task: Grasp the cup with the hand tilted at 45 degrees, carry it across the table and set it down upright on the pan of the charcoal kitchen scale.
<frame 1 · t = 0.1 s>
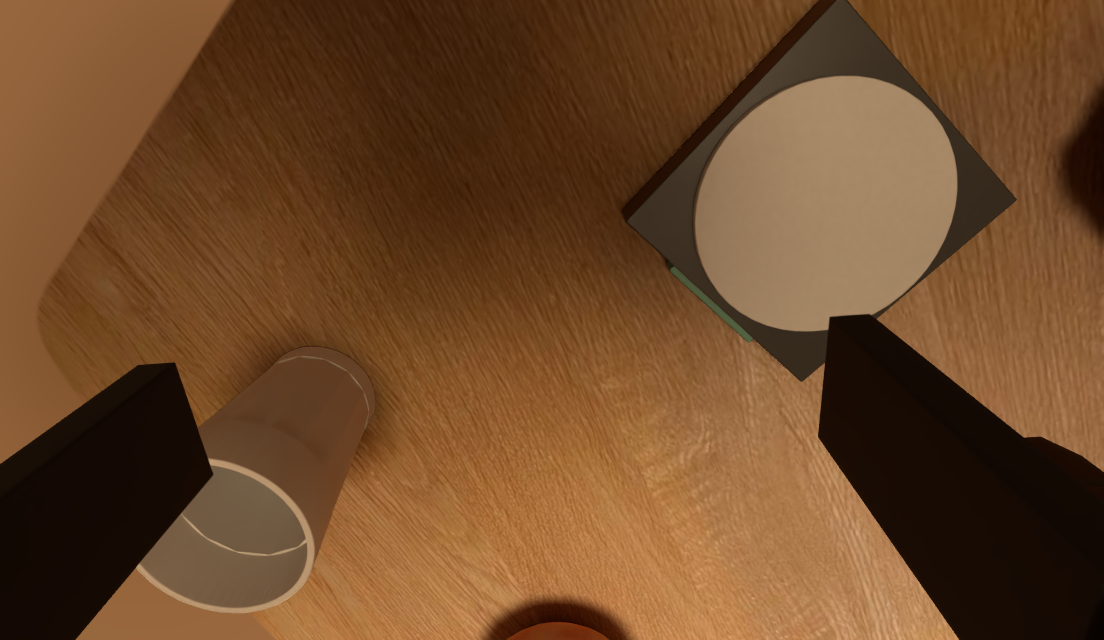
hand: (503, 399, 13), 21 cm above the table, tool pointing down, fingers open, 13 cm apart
cup: (322, 393, 37), on the table
scale: (801, 200, 32), on the table
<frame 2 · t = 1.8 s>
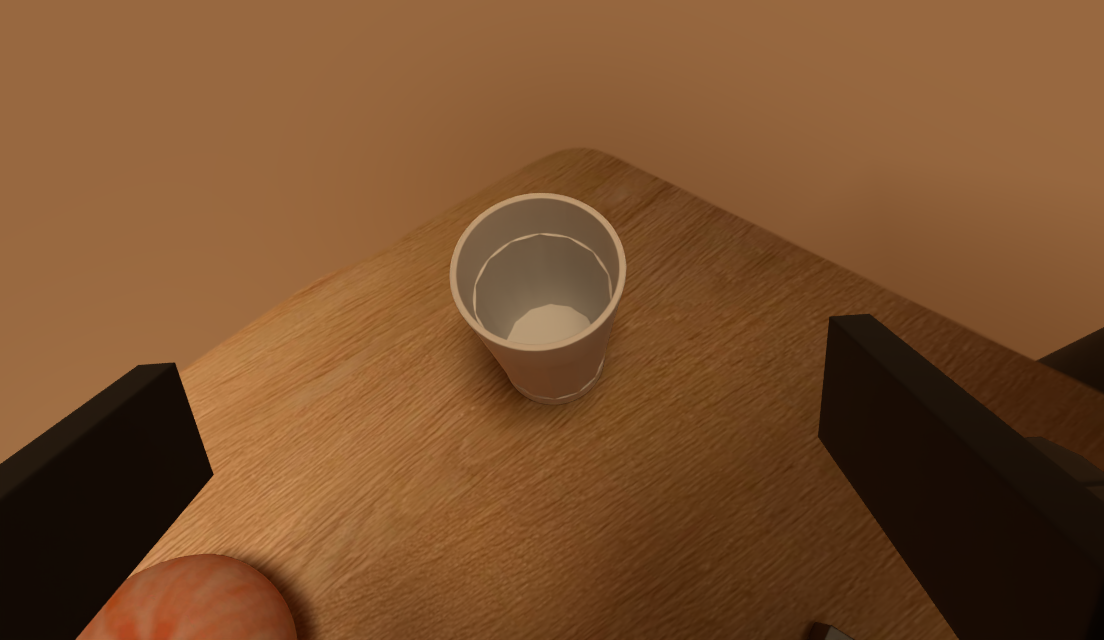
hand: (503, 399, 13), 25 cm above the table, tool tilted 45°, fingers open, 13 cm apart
cup: (554, 356, 39), on the table
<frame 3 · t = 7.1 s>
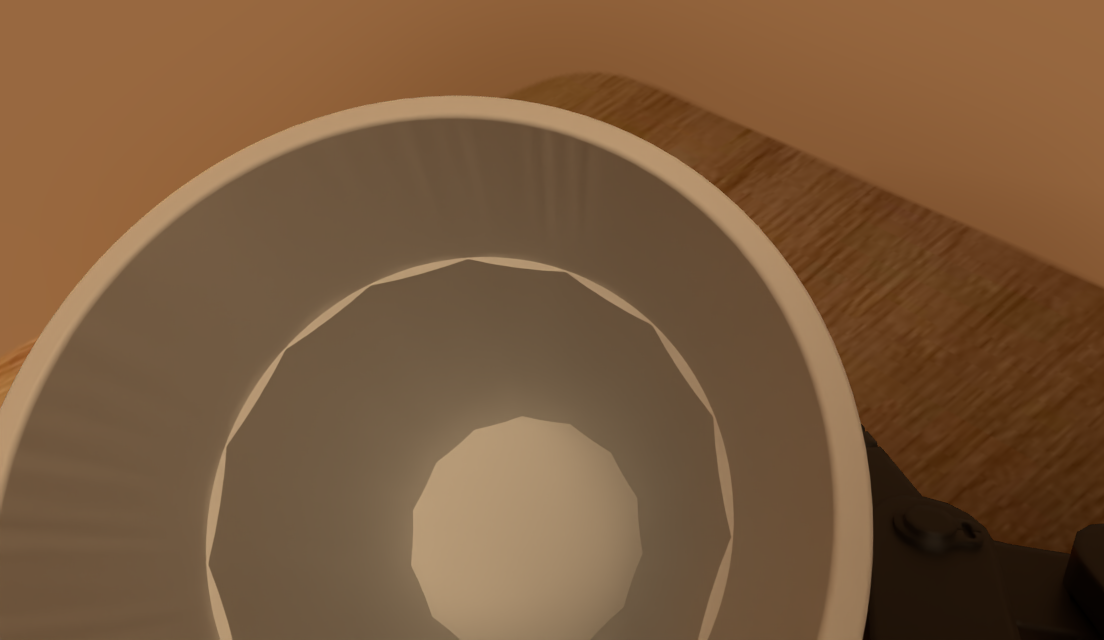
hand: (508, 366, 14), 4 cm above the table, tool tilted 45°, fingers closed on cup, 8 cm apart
cup: (531, 536, 17), on the table, touching gripper
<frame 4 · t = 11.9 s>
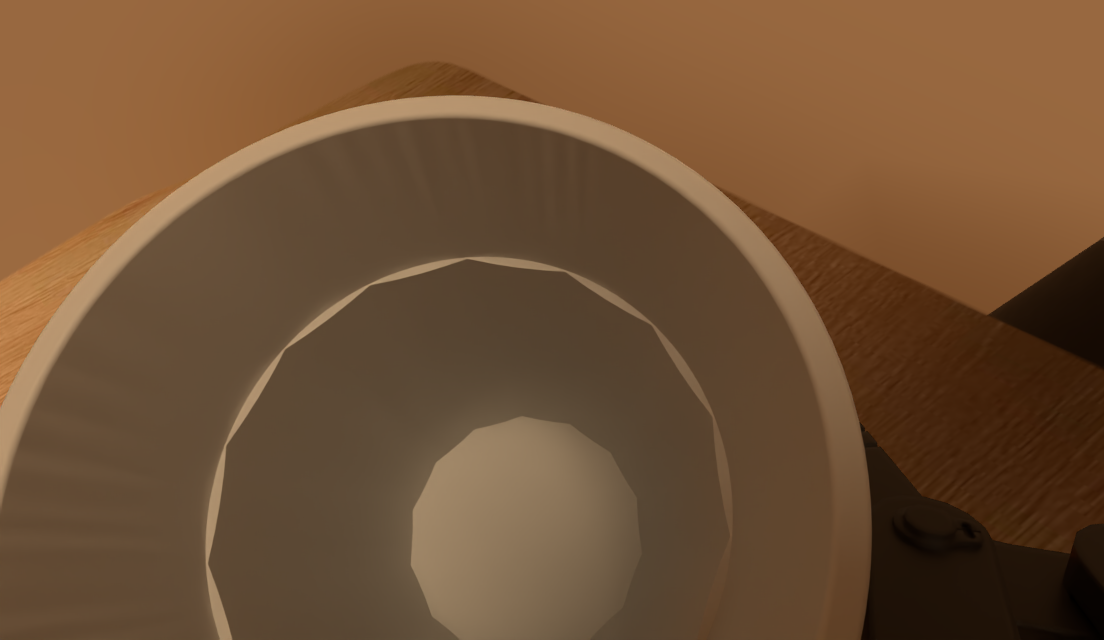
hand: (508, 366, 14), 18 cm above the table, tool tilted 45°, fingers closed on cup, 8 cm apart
cup: (531, 535, 17), point 13 cm above the table, touching gripper
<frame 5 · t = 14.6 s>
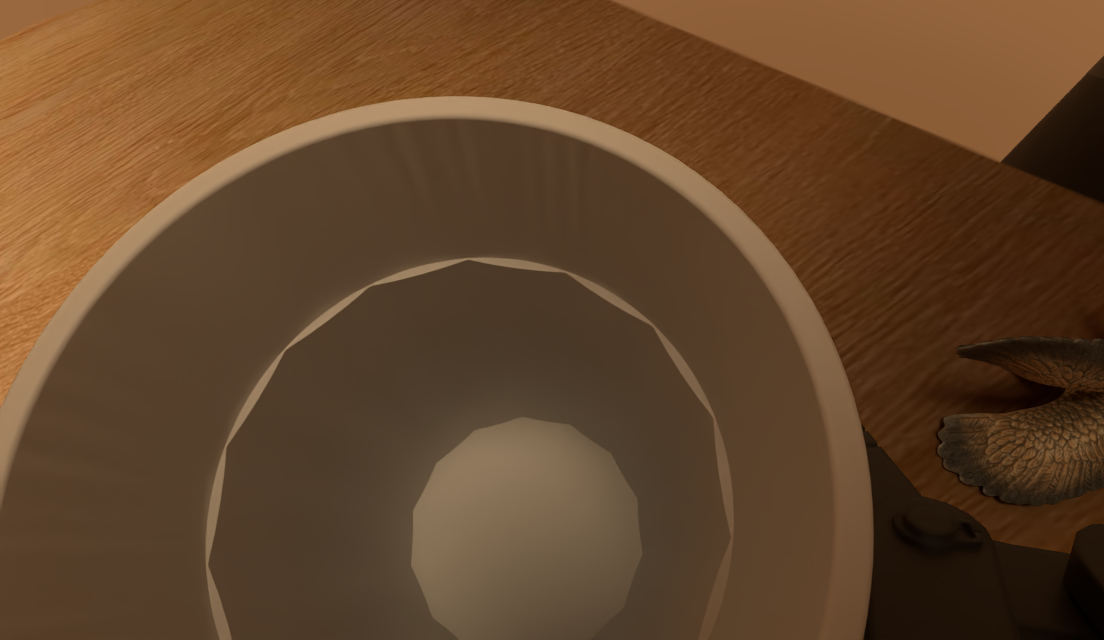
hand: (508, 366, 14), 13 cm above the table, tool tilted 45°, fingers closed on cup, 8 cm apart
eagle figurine: (1036, 409, 25), on the table
cup: (531, 536, 17), point 8 cm above the table, touching gripper
when the fingers open (7 cm above the table, at t = 16.6 s): cup stays where it is, resting on scale.
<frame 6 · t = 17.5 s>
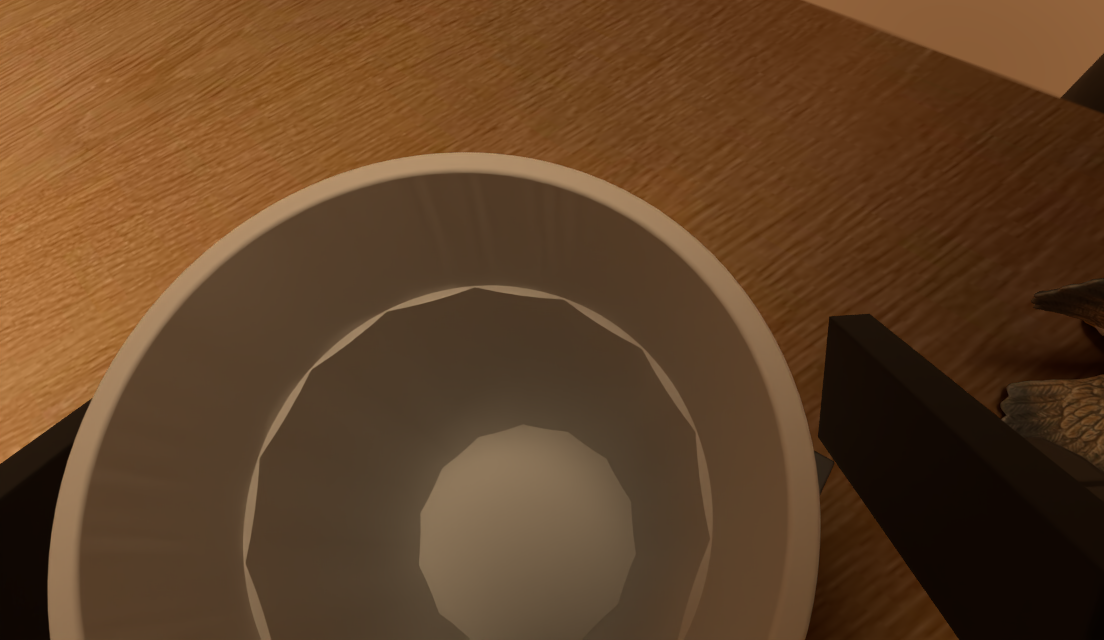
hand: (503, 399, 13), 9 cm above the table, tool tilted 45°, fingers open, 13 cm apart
cup: (532, 537, 18), point 3 cm above the table, touching scale
scale: (539, 541, 20), on the table
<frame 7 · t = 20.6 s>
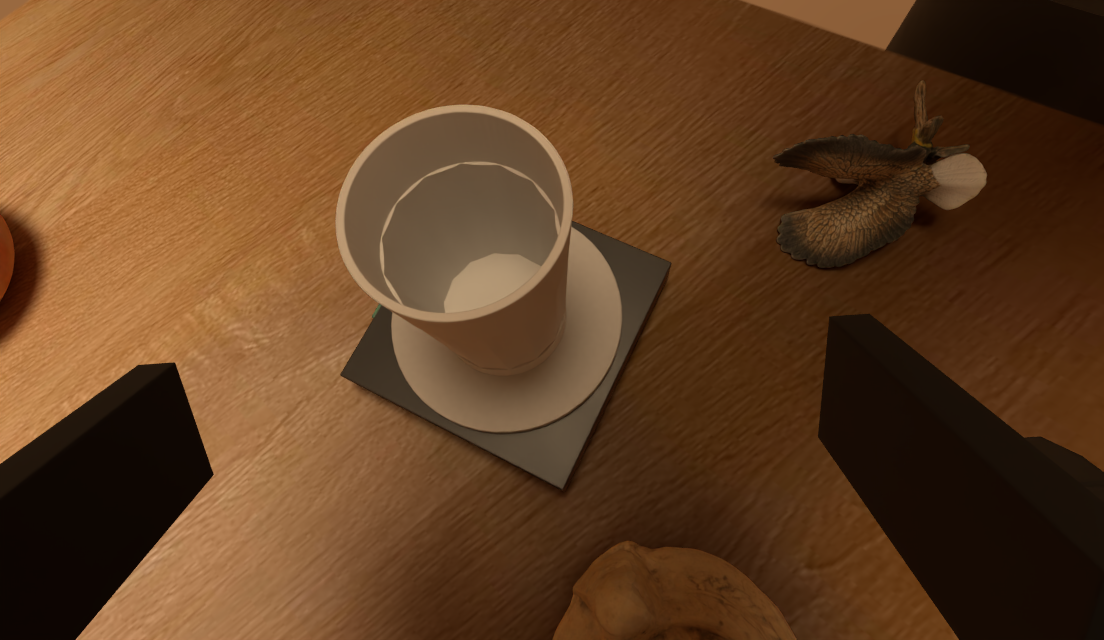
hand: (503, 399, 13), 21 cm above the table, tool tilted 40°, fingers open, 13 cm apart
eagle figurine: (847, 206, 36), on the table
cup: (505, 316, 32), point 3 cm above the table, touching scale
scale: (512, 330, 35), on the table
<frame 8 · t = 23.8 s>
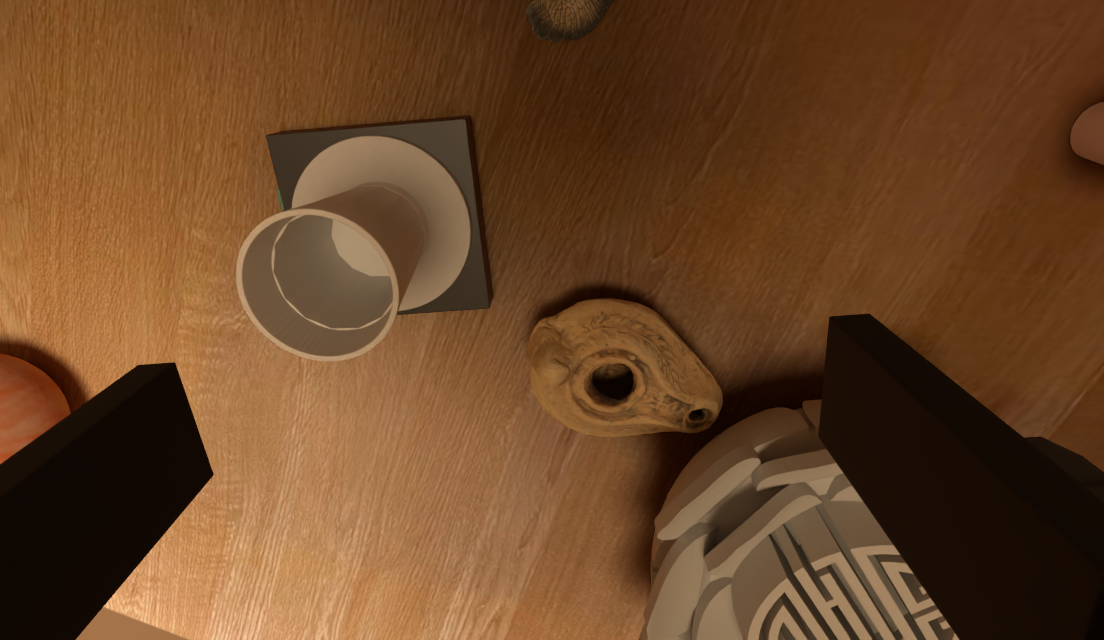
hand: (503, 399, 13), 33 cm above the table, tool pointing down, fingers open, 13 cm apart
decorative bowl: (775, 492, 54), on the table
oil lamp: (622, 353, 49), on the table
cup: (382, 228, 42), point 3 cm above the table, touching scale
smoothie: (1096, 130, 42), on the table
tomato: (29, 393, 50), on the table
scale: (392, 218, 45), on the table
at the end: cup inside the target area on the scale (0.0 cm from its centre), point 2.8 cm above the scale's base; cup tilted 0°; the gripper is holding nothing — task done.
